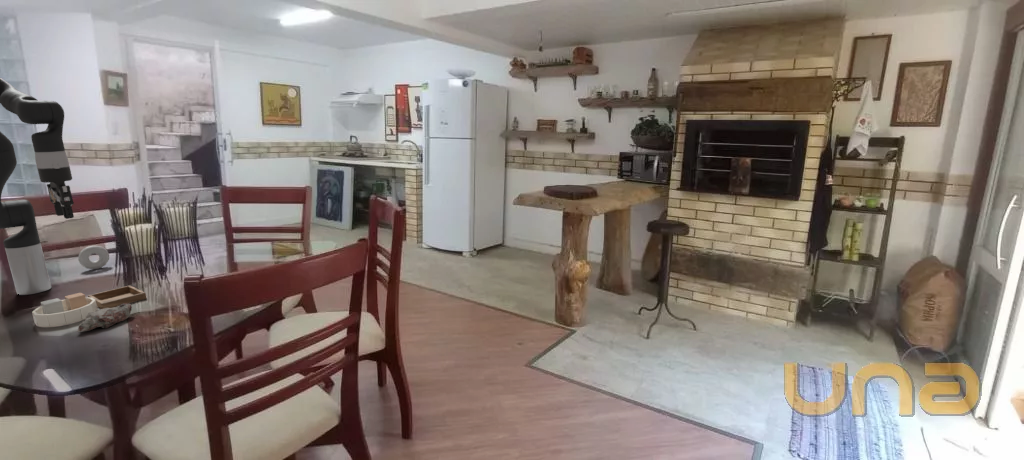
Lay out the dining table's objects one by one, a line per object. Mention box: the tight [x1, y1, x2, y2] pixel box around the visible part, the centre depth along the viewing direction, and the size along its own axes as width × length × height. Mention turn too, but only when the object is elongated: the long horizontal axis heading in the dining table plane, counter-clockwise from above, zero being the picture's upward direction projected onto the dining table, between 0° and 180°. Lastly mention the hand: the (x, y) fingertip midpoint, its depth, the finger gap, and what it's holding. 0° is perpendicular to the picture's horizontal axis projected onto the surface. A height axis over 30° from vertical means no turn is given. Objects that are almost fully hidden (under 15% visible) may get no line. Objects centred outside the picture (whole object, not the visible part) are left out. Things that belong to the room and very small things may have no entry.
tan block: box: [64, 292, 87, 311], centre depth 156 cm, size 4×4×6 cm
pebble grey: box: [40, 297, 64, 314], centre depth 151 cm, size 4×4×6 cm
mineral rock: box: [76, 303, 133, 333], centre depth 149 cm, size 15×8×4 cm, turn 146°
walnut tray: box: [87, 285, 147, 310], centre depth 168 cm, size 14×12×2 cm
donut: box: [78, 245, 110, 270], centre depth 204 cm, size 10×4×10 cm, turn 140°
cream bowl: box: [31, 296, 99, 328], centre depth 154 cm, size 14×14×4 cm
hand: (65, 216), depth 159 cm, fingers open, 8 cm apart
